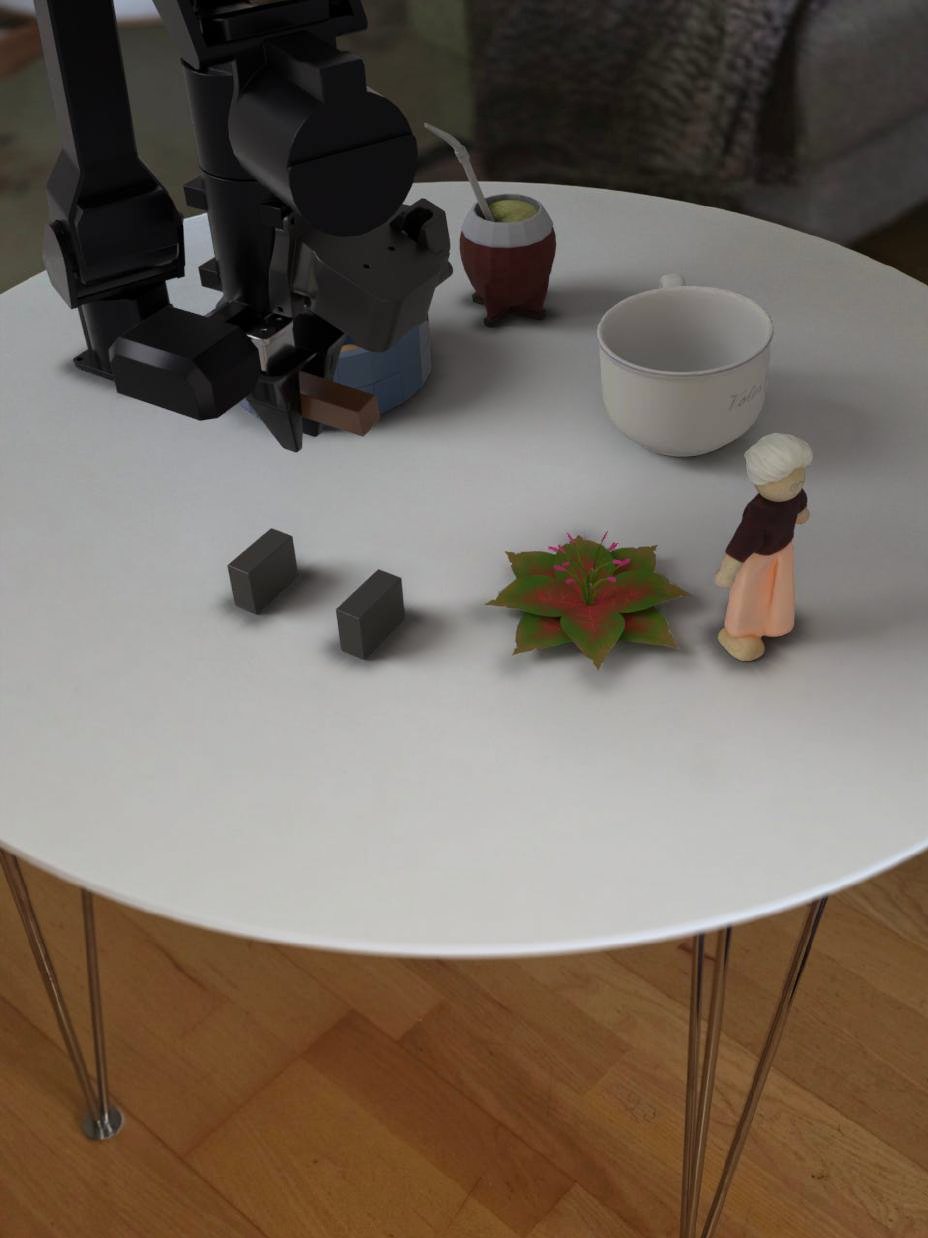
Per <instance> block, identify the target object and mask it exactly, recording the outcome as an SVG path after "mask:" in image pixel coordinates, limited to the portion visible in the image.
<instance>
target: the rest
mask: <svg viewBox="0 0 928 1238" xmlns="http://www.w3.org/2000/svg"><path fill="white" fill-rule="evenodd" d="M294 543H295V542H294V537H293V535H291V534H288V533H285V532H283V531H280V530H278V529H276V528H273V527H271V528H269V529H268V530H267V531H266V532H265V533H264V534H262V535H260V536H259V538H257V539H256V540H255V541H254V542H253V543H252V544H250V545H249V546H248V547H247V548H245V550H244V551H242V552H241V553H240V554H239V555H237V556H236V557H235V558H234V559H233V560H231V562H229V563H228V564H227V565H226V566H227V567H226V568H227V572H228V576H229V582H230V586H231V587H230V588H231V592H232V596H233V602H234V605H235V607H238V608H241V609H243V610H244V611H247V612H250V613H252V614H254V615H255V614H256V615H257V614H259V612H260V611H261V610H263V609H264V608H265V607H266V606H267V605H268V604H269V603H270V602H271V601H273V600H274V599H275V598H276V597H277V596H278V595H279V594H280V593H281V592H282V591H284V590H285V589H286V588H287V587H288V586H289V585H290V584H291V583H293V582H294V581H295V580H296V579H297V578H298V577H299V570H298V563H297V556H296V551H295V544H294ZM335 614H336V622H337V630H338V636H339V644H340V651H342V652H344V653H346V654H349V655H351V656H354V657H356V658H358V659H361V660H366V659H367V658H368V657H369V656H370V655H371V654H372V653H373V652H374V651H375V650H376V649H377V648H378V646H380V645H381V644H382V643H383V642H384V641H385V640H386V639H387V638H388V637H389V636H390V634H392V632H393V631H394V630H395V629H396V628H397V627H398V626H400V624H401V623H403V621H404V620H405V619H406V613H405V602H404V590H403V579H402V577H400V576H397V575H395V574H393V573H390V572H387V571H385V570H382V569H381V568H378V569H376V570H375V572H373V573H372V574H371V575H370V576H369V577H368V578H367V579H366V580H365V581H363V583H362V584H360V586H359V587H358V588H356V589H355V590H354V591H353V592H352V594H350V595H349V596H348V597H347V598H346V599H345V600H344V601H343V602H342V603H341V604H340V605H339V606H337V608H335Z"/></svg>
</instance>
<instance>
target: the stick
mask: <svg viewBox="0 0 928 1238" xmlns="http://www.w3.org/2000/svg"><path fill="white" fill-rule="evenodd" d="M299 385H300V398H301V410H302V417H305V418H308V419H311V420H314V421H317V422H320V423H323V424H326V425H329V426H328V427H333V428H336V429H338V430H341V431H343V432H348V433H350V434H354V435H356V436H360V437H365V436H366V435H367V434H368V433H369V432H370V431H371V430H372V429H373V428H374V427H375V425H376V424H378V422H380V420H381V414H379V409H378V403H377V398H376V395H375V394H371V393H368V392H365V391H362V390H359V389H356V388H353V387H349V386H346V385H343V384H340V383H337V382H334V381H331V380H327V379H324V378H321V377H318V376H315V375H312V374H309V373H305V372H302V371H299Z"/></svg>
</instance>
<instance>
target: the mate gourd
mask: <svg viewBox="0 0 928 1238" xmlns="http://www.w3.org/2000/svg"><path fill="white" fill-rule="evenodd" d="M423 125H424V128H425V129H427V130H429V131H430V132H431V133H433V134H435V135H436V136H437V137H439V138H440V139H442V140H443V141H444V142H445V143H447V144H448V145H449V146H450V147H452V148H453V150H454V155H455V157H456V158H457V161H458V162H459V163H460V164H462V167H463V169H464V172H465V174H466V177H467V179H468V182H469V184H470V187H471V189H472V191H473V194H474V197H475V199H476V201H477V202H475V203H474V204H473V205H472V206H471V207H470V209H469V211H468V212H467V213H466V215H465V217H464V219H463V222H462V225H461V228H460V229H461V231H460V236H459V243H458V245H459V247H458V248H459V254H460V255H459V256H460V260H461V264H462V267H463V270H464V272H465V274H466V276H467V279H468V280H469V282H470V284H471V287H472V288H473V289H474V293H472V294H471V298H472V302H473V303H477V304H479V305H483V306H484V307H485V310H486V317H484V318H483V326H485V327H489V328H493V327H494V326H496V325H497V324H498V323H499V322H501V321H502V320H503V319H504V318H505V317H507V316H508V315H510V314H517V315H520V316H523V317H527V318H531V319H535V320H540V321H542V320H545V318H546V316H547V310H546V309H543V307H544V304H545V300H546V297H547V294H548V289H549V285H550V275H551V274H552V269H553V265H554V261H555V258H556V251H557V235H556V232H555V227H554V221H553V219H552V218H551V216H550V215H549V213H548V211H547V210H546V208H545V207H544V205H543V204H542V203H541V202H540V201H539V200H538V199H535V198H533V197H532V196H530V195H525V194H520V193H499V194H498V193H497V194H492V195H489V196H487V197H485V195H484V194H483V191H482V189H481V187H480V184H479V181H478V179H477V176H476V173H475V171H474V168H473V166H472V164H471V161H470V159H471V157H470V154H469V151H467V148H466V147H465V145H462V144H461V142H460V141H459V140H457V138H455V137H454V136H453V135H451V134H450V133H448V132H446V131H444V130H442V129H440V128H438V127H436V126H433V124H432V125H431V124H430V123H427V122H424V123H423Z"/></svg>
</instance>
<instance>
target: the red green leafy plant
mask: <svg viewBox="0 0 928 1238" xmlns="http://www.w3.org/2000/svg"><path fill="white" fill-rule="evenodd" d="M608 533H609V530H606V531H605V533H604V535H603V536H602V539H601V541H600V543H599V542H596V541H593V540H591V539H587V536H585V537H582V536H581V535H580V534H578V535H576V537H575V538H574V537H573V536H572V535H571V534H570V533H569V532H566V535H567V538H568V539H569V543H565V544H563V545H561V544H557V547H556V546H550V545H549V546H548V548H547V549H548V550H551V551H553V552H555V554H554V553H551V552H548V551H543V550H542V551H541V550H539V551H537V550H534V551H533V550H532V551H531V550H530V551H520V552H517V553H515V552H514V551H507V550H504V553H505V554H506V556H507V559H508V563H510V568H511V570H512V573H513V575H514V576H515V578H516V579H514V580H513V581H511V582H510V583H509V584H508V585H507V586H505V588H503V589H502V590H501V591H500V592H498V594H497V596H496V598H495V599H490V600H489V601H488V602H486V603H484V604H483V606H493V607H498V608H499V607H500V608H507V609H513V610H519V611H521V612H525V613H524V614H523V615H522V616H521V618H520V619H519V621H518V622H517V627H516V632H515V640H514V642H515V645H516V647H515V648H514V650H513V652H512V653H511V654H512V655H511V656H516V655H519V654H523V653H524V654H525V653H528V652H533V651H535V650H542V649H546V648H551V647H556V646H560V645H565V644H568V643H571V642H573V644H575V646H576V647H577V648H578V649H579V650H580V651H581V652H582V653H583V655H585V657H586V658H589V660H591V661H592V665H594V667H595V668H596V670H597V672H599V671H600V669H601V667H602V664H604V662H605V660H606V659H607V657H608V656H609V651H611V650H613V648H614V647H615V646H616V644H617V642H618V641H623V642H628V643H629V642H630V643H638V644H643V645H644V644H645V645H652V646H667V647H668V648H673V649H677V650H680V648H679V646H678V645H677V643H676V641H675V639H674V636H673V633H671V632H670V630H671V627H670V624H669V622H668V620H667V619H666V617H665V616H664V615H663V613H662V612H660V610H658V609H657V608H656V607H655V606H657V605H659V604H661V603H663V602H668V601H673V600H677V599H680V597H690V596H693V594H691V593H690V592H688V591H684V589H682V588H681V587H679V586H678V585H676V584H675V583H671V582H670V580H669V579H668V578H667V577H666V576H664V575H662V574H661V573H659V572H657V571H655V569H656V565H657V554H656V553H655V552H656V551H657V548H658V544H654V545H646V546H645V545H644V546H639V547H637V548H636V547H634V546H628V547H620V548H617V547H618V545H620V542H615V541H614V542H612V544H610V546H609V547H608V548H606V546H604V545H603V542H604V541H605V539H606V538H607V536H608Z"/></svg>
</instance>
